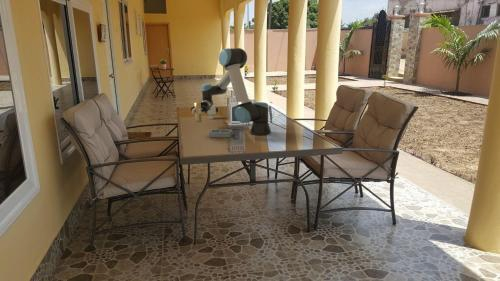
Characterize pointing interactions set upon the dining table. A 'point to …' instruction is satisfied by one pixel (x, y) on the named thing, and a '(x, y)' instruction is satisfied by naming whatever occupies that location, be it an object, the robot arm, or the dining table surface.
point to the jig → (220, 133)
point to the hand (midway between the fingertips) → (195, 111)
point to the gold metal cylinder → (197, 112)
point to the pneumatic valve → (212, 112)
